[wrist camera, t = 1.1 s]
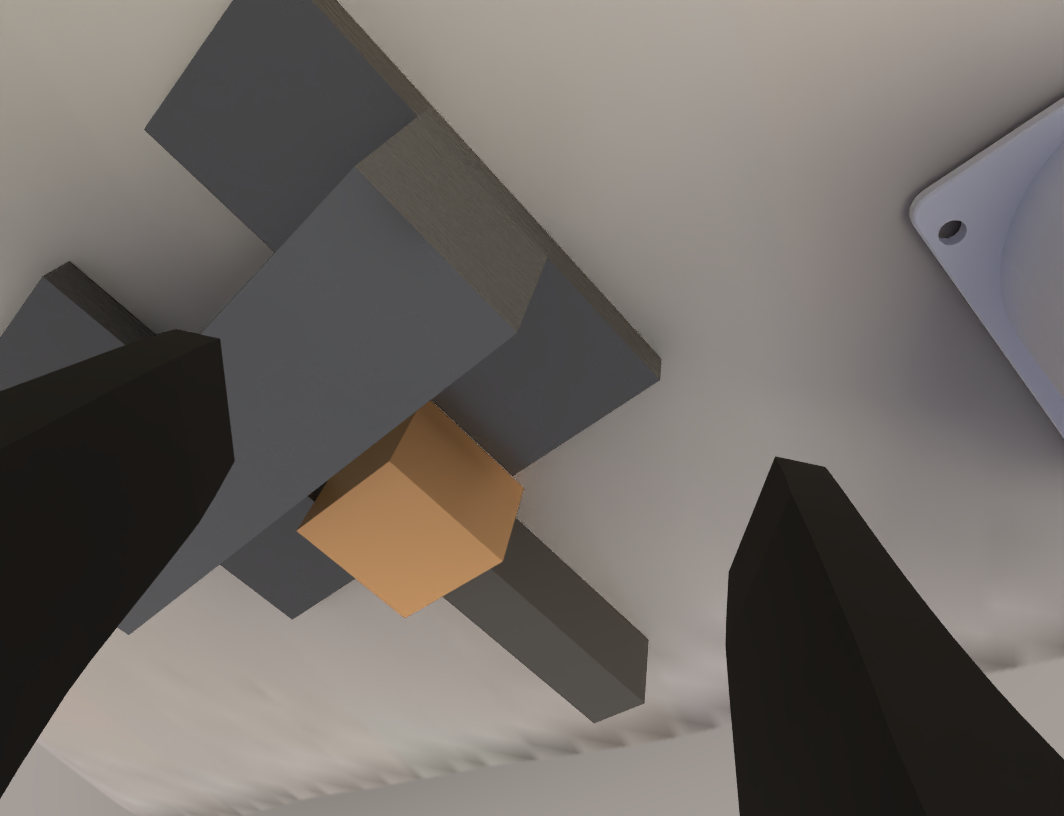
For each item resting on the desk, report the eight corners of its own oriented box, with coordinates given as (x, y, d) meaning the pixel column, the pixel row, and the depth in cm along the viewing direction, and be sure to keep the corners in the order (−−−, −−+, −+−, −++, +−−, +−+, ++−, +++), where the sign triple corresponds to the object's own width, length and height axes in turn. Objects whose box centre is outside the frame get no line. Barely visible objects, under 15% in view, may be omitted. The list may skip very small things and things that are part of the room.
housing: (661, 359, 19) (653, 472, 15) (304, 597, 27) (240, 712, 23) (289, -52, 15) (158, -35, 12) (-2, 360, 23) (-138, 450, 19)
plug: (673, 628, 24) (670, 710, 22) (579, 670, 26) (567, 749, 24) (425, 395, 21) (389, 461, 19) (338, 462, 23) (296, 530, 20)
